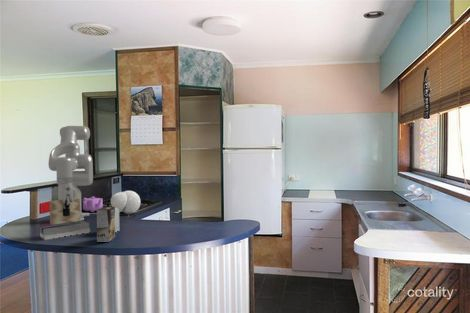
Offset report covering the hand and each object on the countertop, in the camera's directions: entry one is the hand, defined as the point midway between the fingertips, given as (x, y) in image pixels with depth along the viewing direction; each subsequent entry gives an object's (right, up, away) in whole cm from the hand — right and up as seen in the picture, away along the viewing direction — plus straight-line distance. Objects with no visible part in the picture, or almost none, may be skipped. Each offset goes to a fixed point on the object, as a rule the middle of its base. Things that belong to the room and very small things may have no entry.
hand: (65, 215), depth 178 cm
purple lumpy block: (-14, -10, +69) cm, 71 cm away
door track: (0, -10, 0) cm, 10 cm away
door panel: (0, -4, 0) cm, 4 cm away
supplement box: (+22, -10, +4) cm, 25 cm away
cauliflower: (+14, -10, +56) cm, 59 cm away
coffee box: (+26, -11, -12) cm, 31 cm away
